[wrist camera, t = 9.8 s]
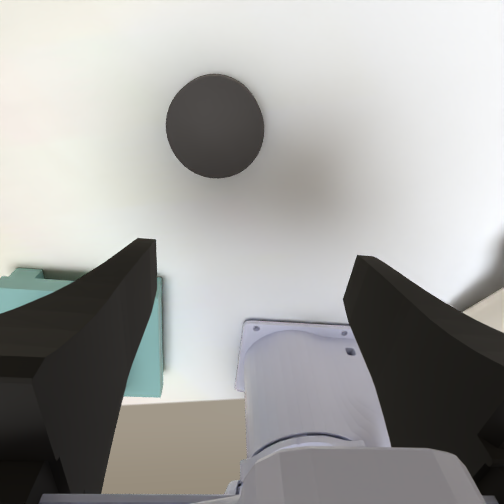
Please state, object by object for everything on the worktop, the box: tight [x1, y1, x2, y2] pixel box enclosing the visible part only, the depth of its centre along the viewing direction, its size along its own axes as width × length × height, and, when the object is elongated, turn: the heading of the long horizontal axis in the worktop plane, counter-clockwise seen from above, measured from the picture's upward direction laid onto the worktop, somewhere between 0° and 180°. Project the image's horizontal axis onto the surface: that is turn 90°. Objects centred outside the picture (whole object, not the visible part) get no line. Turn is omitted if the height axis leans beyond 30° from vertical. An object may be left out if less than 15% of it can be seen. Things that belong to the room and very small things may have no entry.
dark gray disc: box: [166, 74, 264, 178], centre depth 18 cm, size 5×5×2 cm
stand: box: [0, 268, 163, 397], centre depth 25 cm, size 10×10×2 cm
